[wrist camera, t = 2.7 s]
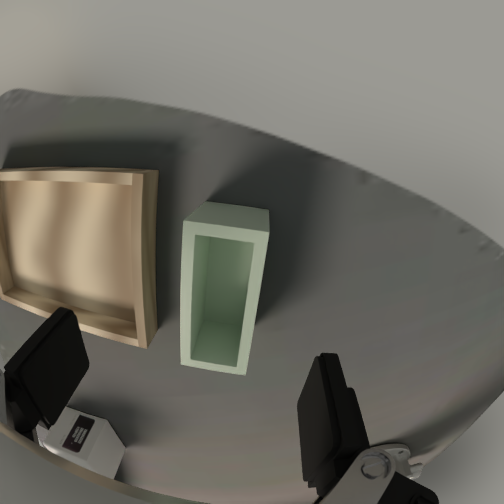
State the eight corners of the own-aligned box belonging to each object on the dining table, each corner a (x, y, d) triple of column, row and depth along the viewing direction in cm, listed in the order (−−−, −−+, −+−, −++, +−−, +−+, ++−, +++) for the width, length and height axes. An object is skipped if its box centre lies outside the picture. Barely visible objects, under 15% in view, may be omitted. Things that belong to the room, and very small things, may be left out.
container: (64, 404, 28) (25, 470, 16) (108, 418, 27) (71, 496, 15) (85, 435, 31) (56, 495, 18) (127, 448, 30) (101, 516, 18)
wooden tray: (159, 170, 17) (143, 173, 15) (157, 329, 21) (147, 348, 19) (1, 168, 17) (-18, 173, 15) (15, 288, 21) (1, 298, 19)
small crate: (268, 209, 18) (269, 232, 13) (250, 328, 21) (245, 375, 16) (205, 201, 18) (183, 220, 13) (197, 320, 21) (180, 364, 16)
